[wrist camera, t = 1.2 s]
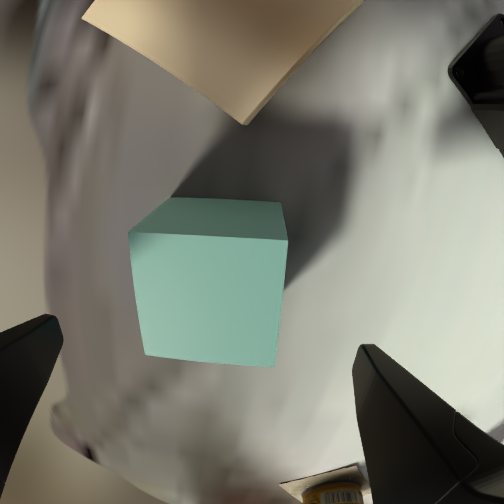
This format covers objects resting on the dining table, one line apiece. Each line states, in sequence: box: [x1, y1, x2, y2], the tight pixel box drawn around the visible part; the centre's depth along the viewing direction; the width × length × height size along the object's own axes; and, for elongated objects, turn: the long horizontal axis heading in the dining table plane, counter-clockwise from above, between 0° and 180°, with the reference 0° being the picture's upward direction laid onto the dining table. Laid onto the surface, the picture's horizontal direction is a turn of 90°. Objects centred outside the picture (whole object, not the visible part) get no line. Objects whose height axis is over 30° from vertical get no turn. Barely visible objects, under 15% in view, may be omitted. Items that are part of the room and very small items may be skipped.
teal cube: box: [128, 197, 288, 367], centre depth 13 cm, size 5×5×5 cm
